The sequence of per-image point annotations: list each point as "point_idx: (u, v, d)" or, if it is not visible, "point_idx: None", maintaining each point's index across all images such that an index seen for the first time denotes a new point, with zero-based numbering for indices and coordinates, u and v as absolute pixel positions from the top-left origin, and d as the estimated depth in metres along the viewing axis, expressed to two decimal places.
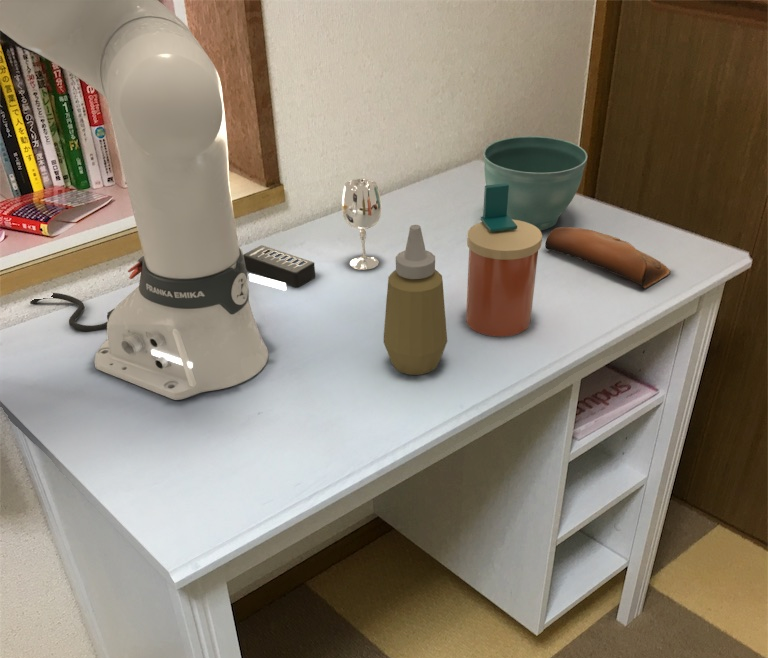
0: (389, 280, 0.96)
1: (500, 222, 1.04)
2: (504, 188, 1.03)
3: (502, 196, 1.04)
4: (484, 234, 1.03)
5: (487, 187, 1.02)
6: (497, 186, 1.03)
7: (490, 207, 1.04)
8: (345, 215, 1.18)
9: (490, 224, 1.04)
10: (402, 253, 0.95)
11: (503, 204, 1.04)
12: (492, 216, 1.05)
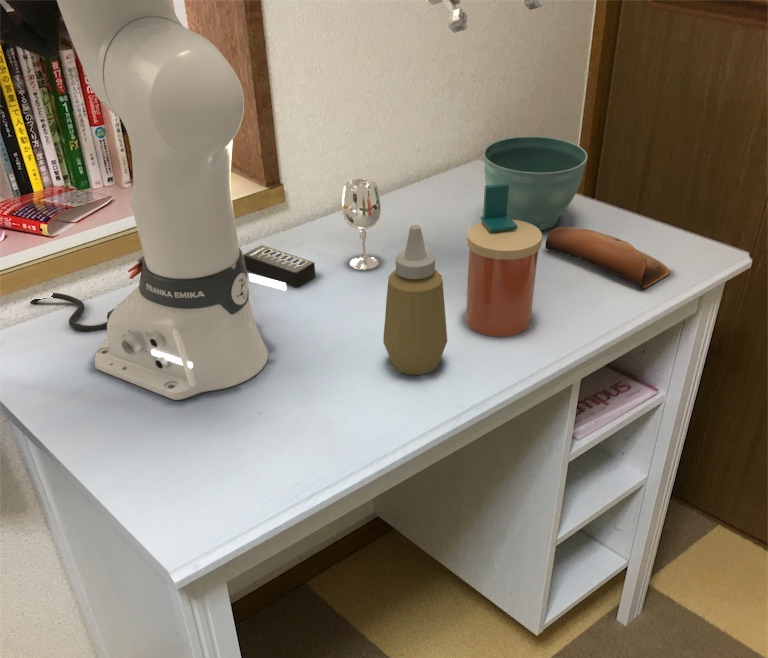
0: (389, 280, 0.96)
1: (500, 222, 1.04)
2: (504, 188, 1.03)
3: (502, 196, 1.04)
4: (484, 234, 1.03)
5: (487, 187, 1.02)
6: (497, 186, 1.03)
7: (490, 207, 1.04)
8: (345, 215, 1.18)
9: (490, 224, 1.04)
10: (402, 253, 0.95)
11: (503, 204, 1.04)
12: (492, 216, 1.05)
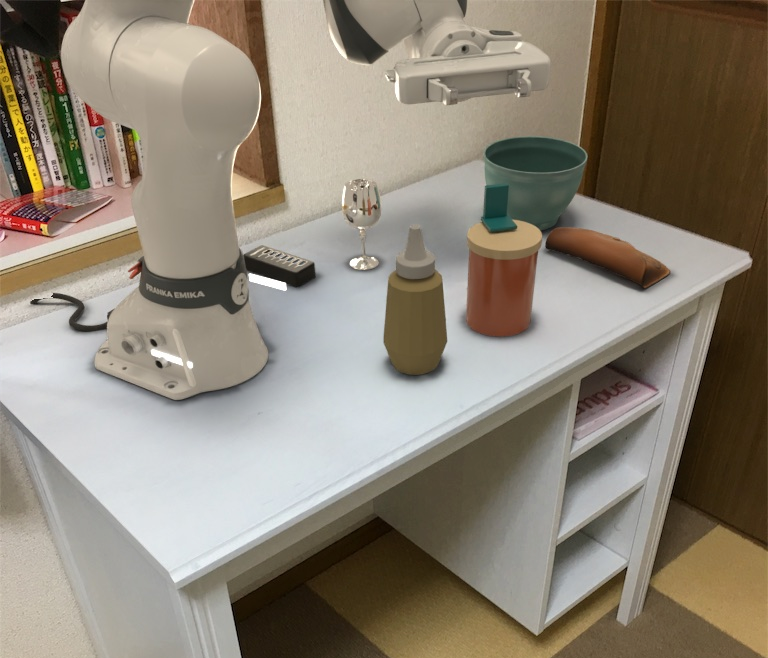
0: (389, 280, 0.96)
1: (500, 222, 1.04)
2: (504, 188, 1.03)
3: (502, 196, 1.04)
4: (484, 234, 1.03)
5: (487, 187, 1.02)
6: (497, 186, 1.03)
7: (490, 207, 1.04)
8: (345, 215, 1.18)
9: (490, 224, 1.04)
10: (402, 253, 0.95)
11: (503, 204, 1.04)
12: (492, 216, 1.05)
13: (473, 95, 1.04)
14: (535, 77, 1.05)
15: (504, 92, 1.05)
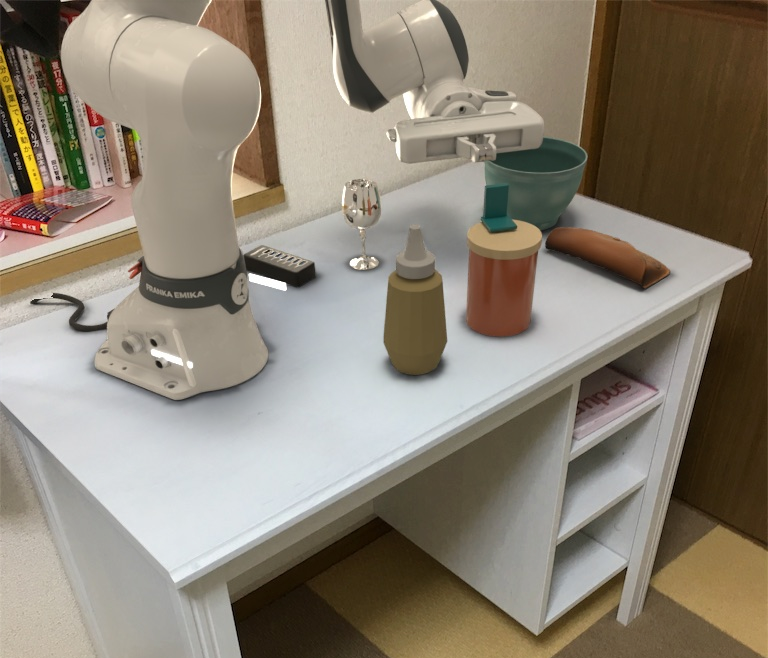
0: (389, 280, 0.96)
1: (500, 222, 1.04)
2: (504, 188, 1.03)
3: (502, 196, 1.04)
4: (484, 234, 1.03)
5: (487, 187, 1.02)
6: (497, 186, 1.03)
7: (490, 207, 1.04)
8: (345, 215, 1.18)
9: (490, 224, 1.04)
10: (402, 253, 0.95)
11: (503, 204, 1.04)
12: (492, 216, 1.05)
13: None
14: (530, 137, 1.10)
15: (500, 151, 1.10)
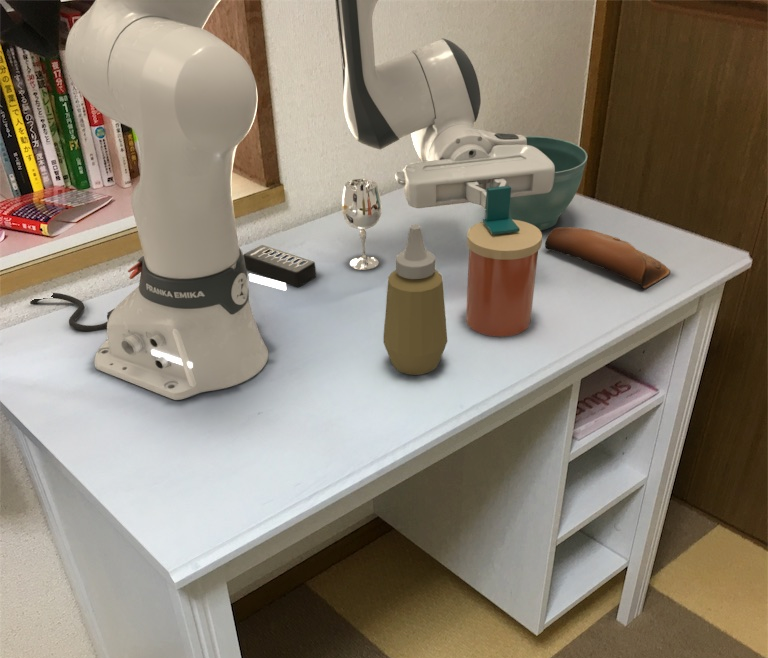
0: (389, 280, 0.96)
1: (502, 225, 1.04)
2: (506, 190, 1.02)
3: (504, 198, 1.03)
4: (484, 234, 1.03)
5: (489, 190, 1.02)
6: (499, 188, 1.02)
7: (492, 209, 1.04)
8: (345, 215, 1.18)
9: (492, 227, 1.03)
10: (402, 253, 0.95)
11: (505, 206, 1.04)
12: (494, 219, 1.05)
13: None
14: (540, 181, 1.08)
15: (510, 196, 1.09)
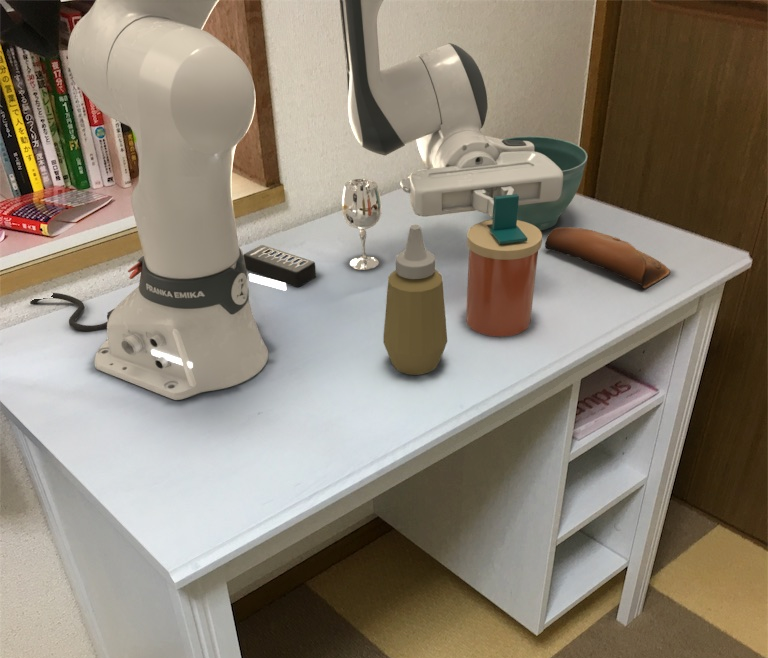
0: (389, 280, 0.96)
1: (509, 234, 1.01)
2: (514, 199, 1.00)
3: (512, 207, 1.01)
4: (484, 234, 1.03)
5: (497, 199, 1.00)
6: (507, 197, 1.00)
7: (499, 218, 1.02)
8: (345, 215, 1.18)
9: (499, 236, 1.01)
10: (402, 253, 0.95)
11: (513, 215, 1.02)
12: (501, 228, 1.03)
13: None
14: (548, 189, 1.06)
15: None
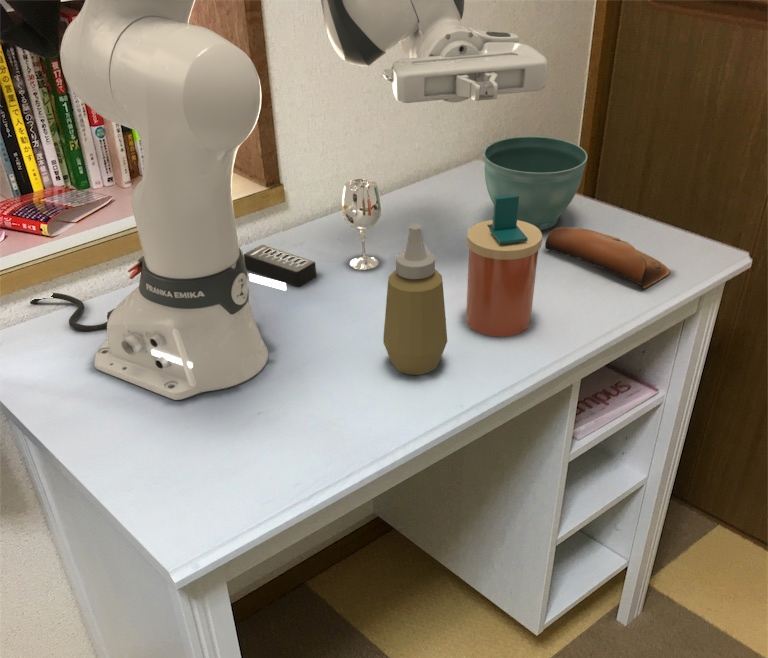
0: (389, 280, 0.96)
1: (509, 234, 1.01)
2: (514, 199, 1.00)
3: (512, 207, 1.01)
4: (484, 234, 1.03)
5: (497, 199, 1.00)
6: (507, 197, 1.00)
7: (499, 219, 1.02)
8: (345, 215, 1.18)
9: (499, 236, 1.01)
10: (402, 253, 0.95)
11: (513, 215, 1.02)
12: (501, 228, 1.03)
13: None
14: (532, 77, 1.05)
15: (501, 92, 1.06)
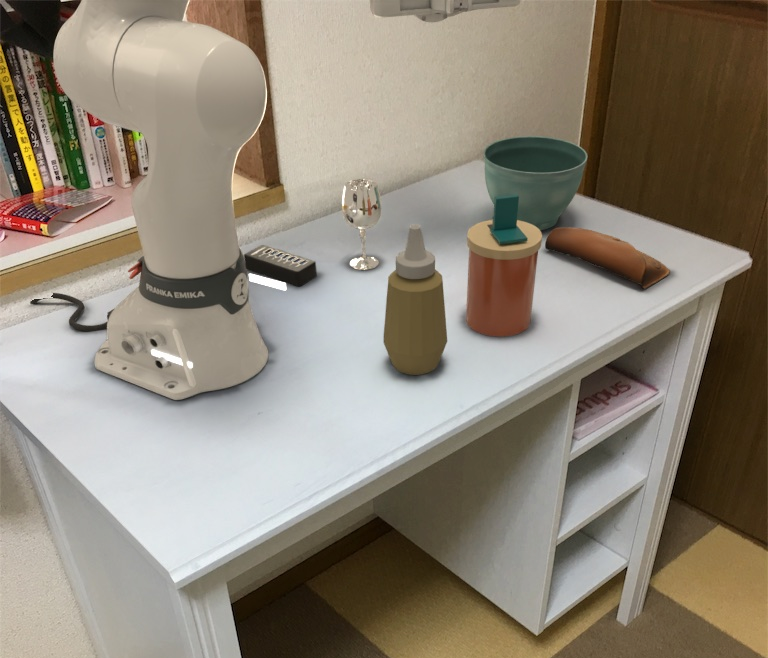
0: (389, 280, 0.96)
1: (509, 234, 1.01)
2: (514, 199, 1.00)
3: (512, 207, 1.01)
4: (484, 234, 1.03)
5: (497, 199, 1.00)
6: (507, 197, 1.00)
7: (499, 219, 1.02)
8: (345, 215, 1.18)
9: (499, 236, 1.01)
10: (402, 253, 0.95)
11: (513, 215, 1.02)
12: (501, 228, 1.03)
13: None
14: None
15: (477, 7, 1.07)
